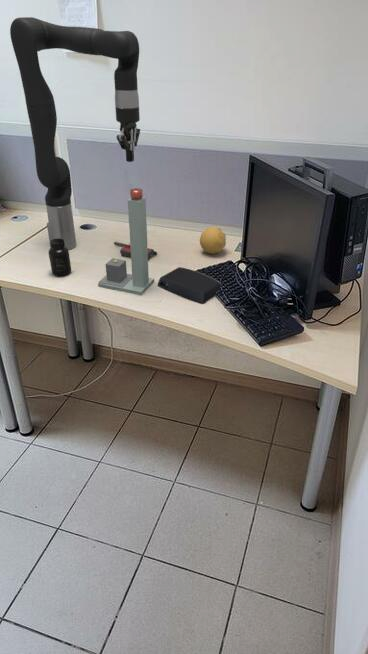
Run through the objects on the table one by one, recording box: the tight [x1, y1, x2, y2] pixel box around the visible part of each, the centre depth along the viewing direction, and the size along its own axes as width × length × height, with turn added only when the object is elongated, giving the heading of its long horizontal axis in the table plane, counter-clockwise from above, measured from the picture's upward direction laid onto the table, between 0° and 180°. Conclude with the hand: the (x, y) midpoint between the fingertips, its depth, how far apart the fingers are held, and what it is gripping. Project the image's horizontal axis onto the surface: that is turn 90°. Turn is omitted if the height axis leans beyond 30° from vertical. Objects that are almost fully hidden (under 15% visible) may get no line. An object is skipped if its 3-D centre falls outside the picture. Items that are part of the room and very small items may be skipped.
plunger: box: [129, 187, 144, 200], centre depth 143 cm, size 4×4×8 cm
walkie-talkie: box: [113, 241, 158, 261], centre depth 181 cm, size 9×4×20 cm
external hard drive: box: [157, 266, 223, 305], centre depth 158 cm, size 13×19×4 cm
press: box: [97, 197, 155, 296], centre depth 152 cm, size 16×10×30 cm, turn 69°
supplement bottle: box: [48, 239, 72, 278], centre depth 164 cm, size 7×7×12 cm
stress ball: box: [199, 226, 227, 255], centre depth 179 cm, size 10×10×10 cm
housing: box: [104, 257, 128, 283], centre depth 159 cm, size 5×5×7 cm
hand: (130, 161), depth 160 cm, fingers closed
